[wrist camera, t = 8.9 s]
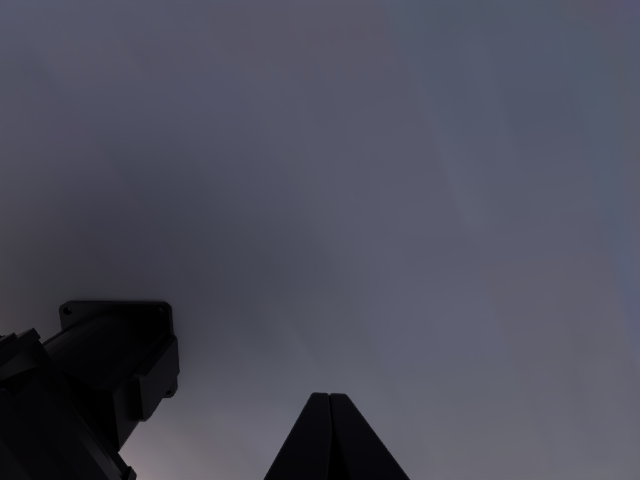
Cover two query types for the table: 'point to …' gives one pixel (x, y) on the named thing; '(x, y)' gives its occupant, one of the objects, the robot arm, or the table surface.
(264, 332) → the table surface
